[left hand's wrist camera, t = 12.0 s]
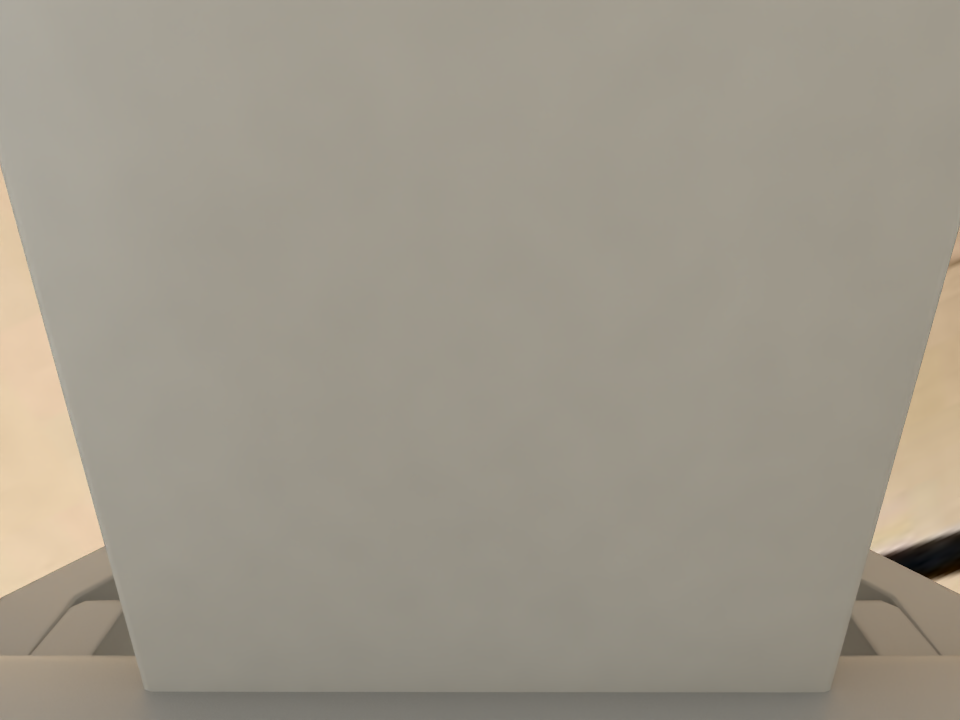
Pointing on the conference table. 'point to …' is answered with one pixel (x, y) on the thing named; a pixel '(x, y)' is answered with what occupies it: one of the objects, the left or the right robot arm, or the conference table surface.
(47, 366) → the conference table surface
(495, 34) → the bar
